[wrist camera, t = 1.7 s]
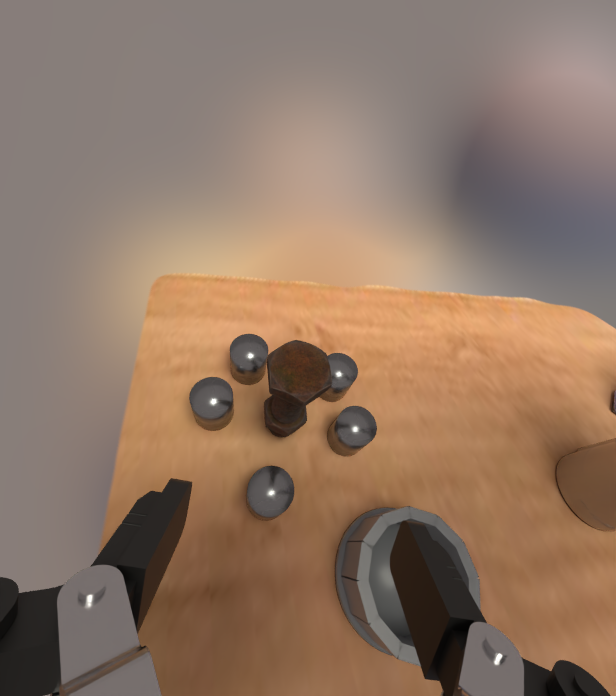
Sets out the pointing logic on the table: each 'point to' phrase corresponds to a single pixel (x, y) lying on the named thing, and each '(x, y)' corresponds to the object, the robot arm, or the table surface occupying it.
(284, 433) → the bolt
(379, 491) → the table surface
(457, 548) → the round gray container
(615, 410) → the cake pan box
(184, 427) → the table surface
